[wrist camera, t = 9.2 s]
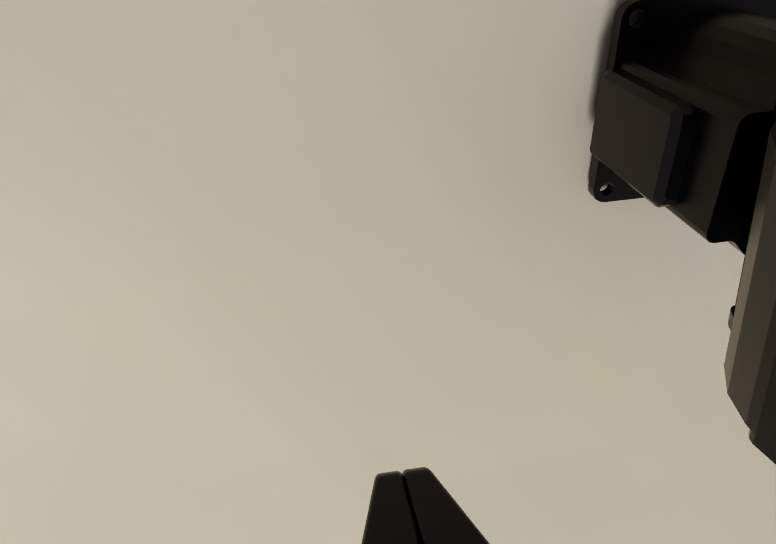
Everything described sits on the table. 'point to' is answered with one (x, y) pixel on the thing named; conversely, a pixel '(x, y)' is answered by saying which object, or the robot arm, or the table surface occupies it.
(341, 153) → the table surface
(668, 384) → the table surface
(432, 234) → the table surface
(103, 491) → the table surface
